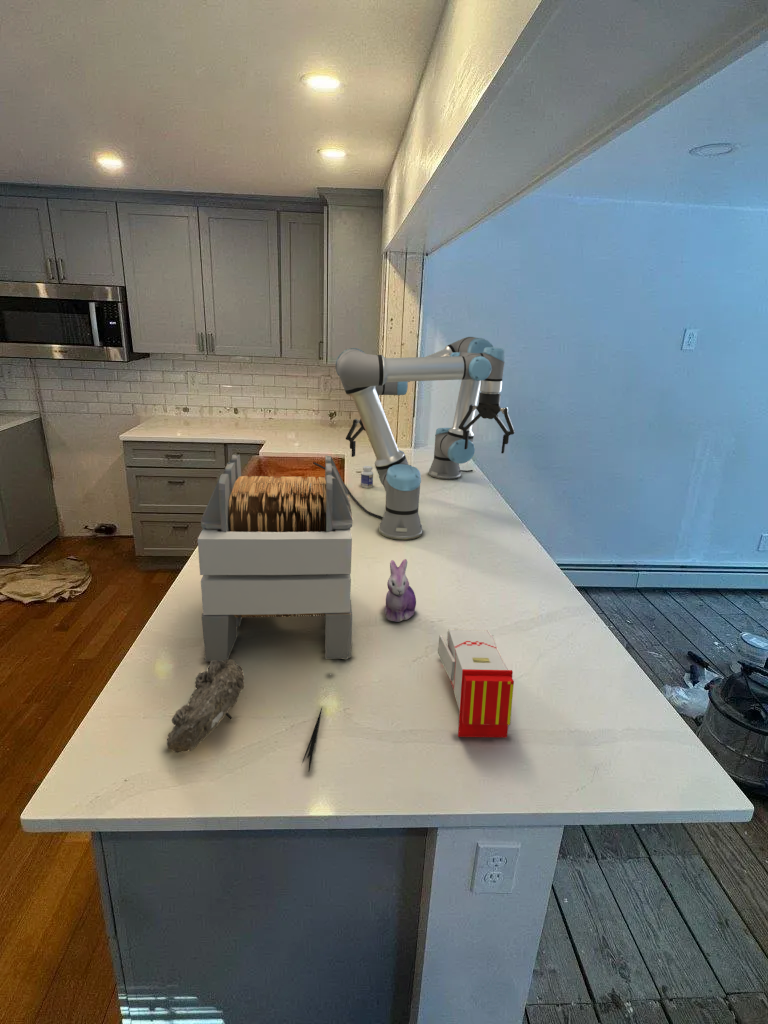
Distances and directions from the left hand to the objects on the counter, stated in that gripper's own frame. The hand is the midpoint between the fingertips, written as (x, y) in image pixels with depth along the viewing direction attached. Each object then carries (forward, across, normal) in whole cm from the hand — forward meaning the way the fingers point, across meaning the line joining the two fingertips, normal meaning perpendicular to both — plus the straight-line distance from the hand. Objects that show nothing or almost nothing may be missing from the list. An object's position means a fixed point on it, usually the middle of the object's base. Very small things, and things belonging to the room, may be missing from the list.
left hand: (484, 450), depth 210 cm
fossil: (+27, +30, +132) cm, 138 cm away
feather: (+27, +10, +125) cm, 129 cm away
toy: (+27, -15, +106) cm, 111 cm away
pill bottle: (+27, +52, -20) cm, 62 cm away
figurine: (+27, +7, +81) cm, 86 cm away
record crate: (+27, +33, +96) cm, 105 cm away
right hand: (+14, +52, -20) cm, 58 cm away
